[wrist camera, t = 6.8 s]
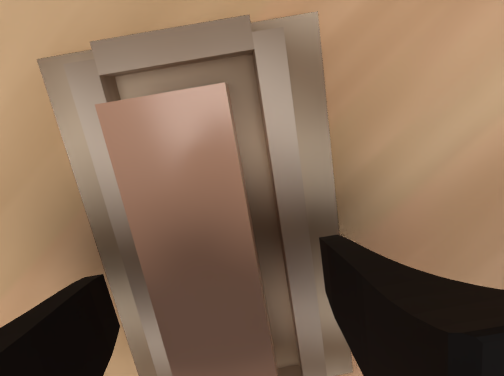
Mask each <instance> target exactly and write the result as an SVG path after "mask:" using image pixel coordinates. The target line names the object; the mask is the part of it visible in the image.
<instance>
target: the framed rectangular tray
mask: <svg viewBox="0 0 504 376" xmlns="http://www.w3.org/2000/svg"><path fill="white" fill-rule="evenodd" d="M90 45H91V48H92V50H88V51H82V52H76V53H70V54H64V55H58V56H52V57H46V58H41V59H37V62H38V65H39V68H40V71H41V74H42V77H43V80H44V83H45V87H46V90H47V93H48V96H49V99H50V102H51V105H52V108H53V111H54V114H55V118H56V121H57V124H58V127H59V130H60V133H61V136H62V139H63V142H64V145H65V149H66V152H67V155H68V158H69V161H70V164H71V167H72V170H73V173H74V176H75V180H76V183H77V186H78V189H79V192H80V195H81V198H82V201H83V204H84V207H85V211H86V214H87V217H88V220H89V223H90V226H91V229H92V232H93V235H94V239H95V242H96V245H97V248H98V251H99V254H100V257H101V260H102V263H103V266H104V270H105V273H106V276H107V279H108V282H109V285H110V288H111V291H112V294H113V297H114V301H115V304H116V307H117V310H118V313H119V316H120V319H121V322H122V325H123V328H124V332H125V335H126V338H127V341H128V344H129V347H130V350H131V353H132V356H133V359H134V363H135V366H136V369H137V372H138V375H139V376H172V372H171V369H170V365H169V362H168V359H167V355H166V352H165V348H164V345H163V341H162V338H161V334H160V331H159V327H158V324H157V320H156V317H155V313H154V310H153V306H152V303H151V299H150V296H149V292H148V289H147V285H146V282H145V278H144V275H143V271H142V268H141V264H140V261H139V257H138V254H137V251H136V247H135V244H134V240H133V237H132V233H131V230H130V226H129V223H128V219H127V216H126V212H125V209H124V205H123V202H122V198H121V195H120V191H119V188H118V184H117V181H116V177H115V174H114V170H113V167H112V163H111V160H110V156H109V153H108V149H107V146H106V143H105V139H104V136H103V132H102V129H101V125H100V122H99V118H98V115H97V111H96V108H95V104H101V103H106V102H112V101H118V100H124V99H130V98H136V97H142V96H148V95H153V94H159V93H165V92H171V91H177V90H183V89H189V88H195V87H201V86H206V85H212V84H218V83H224V82H225V83H227V84H229V90H230V96H231V101H232V107H233V113H234V119H235V124H236V130H237V136H238V141H239V147H240V153H241V159H242V164H243V170H244V176H245V182H246V187H247V193H248V199H249V204H250V210H251V216H252V222H253V227H254V233H255V239H256V244H257V250H258V256H259V262H260V267H261V273H262V279H263V284H264V290H265V296H266V302H267V307H268V313H269V319H270V325H271V330H272V336H273V342H274V347H275V354H276V360H277V367H278V373H279V376H336V375H342V374H347V373H353V368H352V358H351V350H350V348H349V346H348V344H347V342H346V340H345V338H344V336H343V334H342V332H341V330H340V328H339V326H338V324H337V322H336V320H335V318H334V315H333V312H332V309H331V307H330V304H329V301H328V298H327V295H326V292H325V285H324V276H323V268H322V259H321V250H320V242H319V237H325V236H331V235H337V234H338V235H339V225H338V214H337V204H336V194H335V183H334V173H333V163H332V153H331V142H330V132H329V122H328V112H327V101H326V91H325V81H324V70H323V60H322V50H321V40H320V29H319V19H318V11H317V12H311V13H306V14H300V15H294V16H288V17H282V18H276V19H270V20H264V21H258V22H253V23H250V16H249V15H244V16H238V17H233V18H227V19H221V20H215V21H209V22H203V23H197V24H191V25H185V26H180V27H174V28H168V29H162V30H156V31H150V32H144V33H138V34H132V35H127V36H121V37H115V38H109V39H103V40H97V41H91V42H90Z"/></svg>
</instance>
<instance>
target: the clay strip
mask: <svg viewBox="0 0 504 376" xmlns="http://www.w3.org/2000/svg"><path fill="white" fill-rule="evenodd" d="M95 108H96V111H97V115H98V118H99V122H100V125H101V129H102V132H103V136H104V139H105V143H106V146H107V149H108V153H109V156H110V160H111V163H112V167H113V170H114V174H115V177H116V181H117V184H118V188H119V191H120V195H121V198H122V202H123V205H124V209H125V212H126V216H127V219H128V223H129V226H130V230H131V233H132V237H133V240H134V244H135V247H136V251H137V254H138V257H139V261H140V264H141V268H142V271H143V275H144V278H145V282H146V285H147V289H148V292H149V296H150V299H151V303H152V306H153V310H154V313H155V317H156V320H157V324H158V327H159V331H160V334H161V338H162V341H163V345H164V348H165V352H166V355H167V359H168V362H169V365H170V369H171V372H172V376H279V373H278V367H277V360H276V354H275V347H274V342H273V336H272V330H271V325H270V319H269V313H268V307H267V302H266V296H265V290H264V284H263V279H262V273H261V267H260V262H259V256H258V250H257V244H256V239H255V233H254V227H253V222H252V216H251V210H250V204H249V199H248V193H247V187H246V182H245V176H244V170H243V164H242V159H241V153H240V147H239V141H238V136H237V130H236V124H235V119H234V113H233V107H232V101H231V96H230V90H229V84H227V83H225V82H224V83H218V84H212V85H206V86H201V87H195V88H189V89H183V90H177V91H171V92H165V93H159V94H153V95H148V96H142V97H136V98H130V99H124V100H118V101H112V102H106V103H101V104H95Z"/></svg>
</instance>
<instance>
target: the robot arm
mask: <svg viewBox="0 0 504 376" xmlns="http://www.w3.org/2000/svg"><path fill="white" fill-rule="evenodd" d="M319 242H320V250H321V259H322V268H323V276H324V285H325V292H326V295H327V298H328V301H329V304H330V307H331V309H332V312H333V315H334V318H335V320H336V322H337V324H338V326H339V328H340V330H341V332H342V334H343V336H344V338H345V340H346V342H347V344H348V346H349V348H350V350H351V352H352V354H353V356H354V358H355V360H356V362H357V364H358V366H359V368H360V370H361V371H362V373H363V375H364V376H504V290H501V289H494V288H488V287H483V286H477V285H473V284H468V283H464V282H459V281H455V280H450V279H447V278H443V277H439V276H436V275H432V274H429V273H426V272H423V271H420V270H416V269H414V268H411V267H408V266H405V265H403V264H400V263H398V262H395V261H393V260H390V259H388V258H386V257H384V256H381V255H379V254H377V253H375V252H373V251H371V250H369V249H366V248H364V247H362V246H360V245H359V244H357V243H355V242H353V241H351V240H349V239H347V238H345V237H343V236H340V235H338V234H337V235H331V236H325V237H319ZM119 328H120V325H119V322H118V319H117V316H116V313H115V310H114V306H113V303H112V300H111V297H110V294H109V291H108V288H107V285H106V282H105V279H104V276H103V274H101V275H95V276H89V277H84V278H82V279H80V280H78V281H76V282H74V283H72V284H71V285H69V286H67V287H66V288H64V289H62V290H61V291H59V292H57V293H56V294H54V295H53V296H51V297H50V298H48V299H46V300H45V301H43V302H42V303H40V304H39V305H37V306H35V307H34V308H32V309H31V310H29V311H28V312H26V313H24V314H23V315H21V316H19V317H18V318H16V319H14V320H13V321H11V322H10V323H8V324H6V325H5V326H3V327H1V328H0V376H103V375H104V372H105V370H106V368H107V365H108V363H109V361H110V358H111V356H112V353H113V350H114V346H115V343H116V339H117V335H118V332H119Z"/></svg>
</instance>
